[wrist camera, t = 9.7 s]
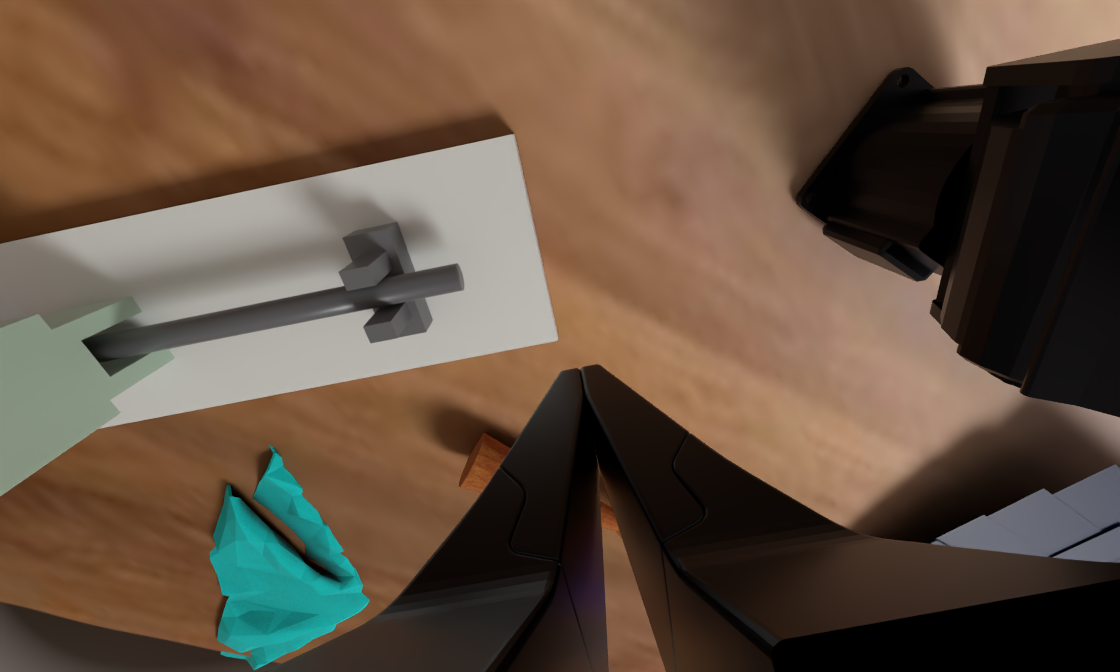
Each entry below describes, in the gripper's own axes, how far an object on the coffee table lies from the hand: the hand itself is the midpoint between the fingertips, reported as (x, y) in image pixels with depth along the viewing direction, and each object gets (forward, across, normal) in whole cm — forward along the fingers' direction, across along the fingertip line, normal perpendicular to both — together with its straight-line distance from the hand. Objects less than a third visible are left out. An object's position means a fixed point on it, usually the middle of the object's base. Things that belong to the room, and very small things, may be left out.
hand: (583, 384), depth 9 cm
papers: (+13, -27, +36) cm, 47 cm away
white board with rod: (+13, +16, 0) cm, 21 cm away
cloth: (+14, +25, +21) cm, 36 cm away
